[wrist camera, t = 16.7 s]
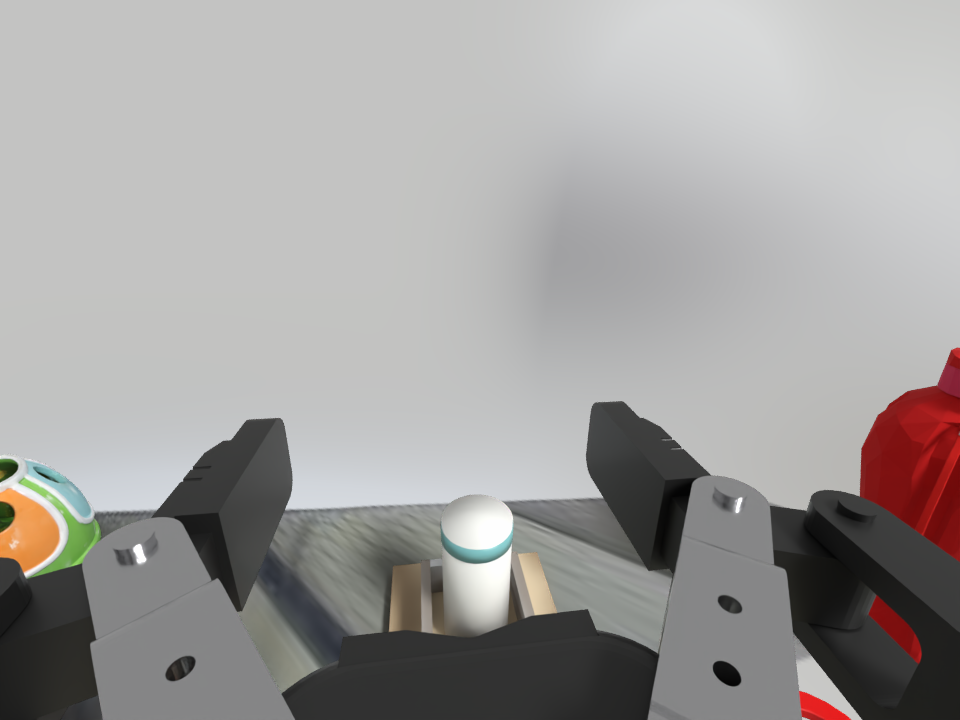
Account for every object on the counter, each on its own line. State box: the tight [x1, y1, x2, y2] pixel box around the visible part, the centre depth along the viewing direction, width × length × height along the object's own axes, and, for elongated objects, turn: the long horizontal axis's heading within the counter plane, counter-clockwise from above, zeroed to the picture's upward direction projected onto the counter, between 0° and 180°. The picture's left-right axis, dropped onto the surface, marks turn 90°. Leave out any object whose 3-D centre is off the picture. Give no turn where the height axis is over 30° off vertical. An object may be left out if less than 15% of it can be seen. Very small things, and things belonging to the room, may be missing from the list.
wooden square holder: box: [389, 552, 557, 635], centre depth 36 cm, size 14×14×4 cm
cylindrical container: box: [441, 495, 513, 638], centre depth 34 cm, size 5×5×11 cm
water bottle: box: [860, 348, 960, 664], centre depth 32 cm, size 9×11×25 cm
